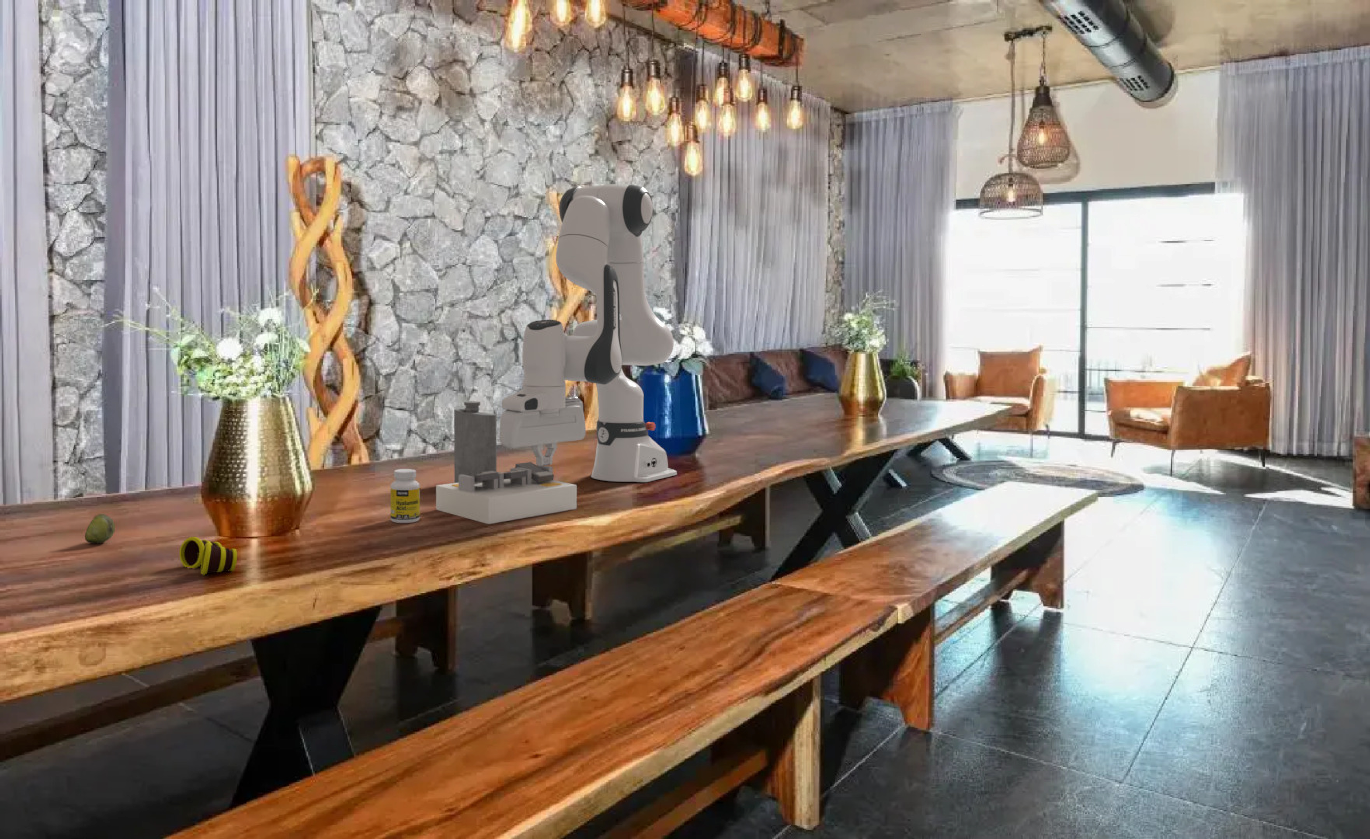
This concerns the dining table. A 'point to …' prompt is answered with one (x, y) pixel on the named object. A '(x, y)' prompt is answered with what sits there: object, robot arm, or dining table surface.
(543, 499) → the switch console
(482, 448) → the hip flask
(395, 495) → the supplement bottle
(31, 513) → the dining table surface
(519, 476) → the rocker
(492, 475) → the rocker
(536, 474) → the rocker
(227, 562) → the brown and yellow tube
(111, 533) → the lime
